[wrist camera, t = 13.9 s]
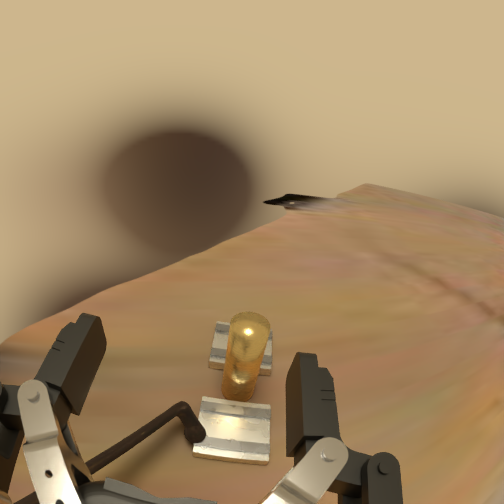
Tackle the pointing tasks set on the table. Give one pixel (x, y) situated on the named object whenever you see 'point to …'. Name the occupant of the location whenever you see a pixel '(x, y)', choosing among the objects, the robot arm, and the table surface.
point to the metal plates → (234, 415)
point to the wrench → (182, 410)
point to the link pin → (244, 355)
